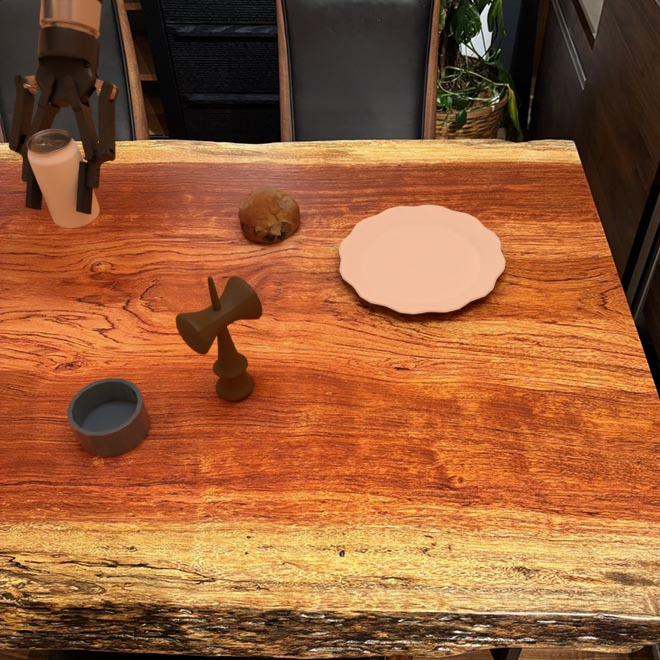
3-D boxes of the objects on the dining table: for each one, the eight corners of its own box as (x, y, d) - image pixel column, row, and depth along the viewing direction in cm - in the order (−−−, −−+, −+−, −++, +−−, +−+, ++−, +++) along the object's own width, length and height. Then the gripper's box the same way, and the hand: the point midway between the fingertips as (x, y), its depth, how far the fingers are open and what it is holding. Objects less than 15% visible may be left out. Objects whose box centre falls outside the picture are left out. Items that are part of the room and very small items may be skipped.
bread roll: (306, 233, 134) (307, 185, 131) (290, 248, 125) (291, 197, 122) (249, 228, 136) (249, 180, 132) (229, 242, 126) (228, 191, 123)
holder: (63, 442, 102) (51, 420, 99) (107, 391, 108) (98, 369, 104) (122, 466, 99) (112, 445, 96) (164, 413, 105) (156, 391, 102)
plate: (438, 195, 134) (438, 186, 133) (537, 278, 120) (539, 268, 119) (309, 251, 126) (308, 241, 124) (399, 347, 112) (399, 337, 110)
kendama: (277, 379, 108) (258, 266, 93) (223, 421, 104) (193, 310, 89) (248, 358, 111) (224, 245, 96) (193, 398, 106) (160, 286, 91)
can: (66, 199, 115) (37, 124, 106) (108, 204, 114) (83, 129, 105) (45, 227, 111) (13, 152, 102) (89, 232, 110) (61, 157, 101)
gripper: (152, 47, 108) (139, 220, 110) (17, 40, 110) (7, 208, 112) (127, 27, 101) (114, 212, 102) (-16, 19, 103) (-27, 200, 105)
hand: (58, 210), depth 107 cm, fingers closed on can, 6 cm apart
